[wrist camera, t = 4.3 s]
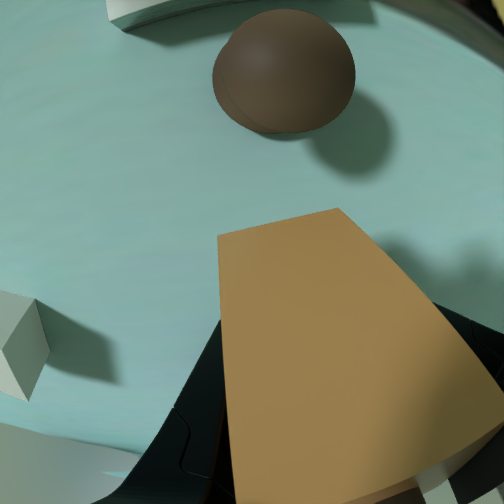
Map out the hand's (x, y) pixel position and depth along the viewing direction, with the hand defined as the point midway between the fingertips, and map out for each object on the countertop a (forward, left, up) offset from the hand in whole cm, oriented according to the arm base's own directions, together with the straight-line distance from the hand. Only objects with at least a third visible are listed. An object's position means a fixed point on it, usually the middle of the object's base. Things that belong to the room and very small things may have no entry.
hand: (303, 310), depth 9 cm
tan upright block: (0, 0, -2) cm, 2 cm away
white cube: (-4, +22, -10) cm, 25 cm away
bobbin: (+7, -2, -10) cm, 12 cm away
